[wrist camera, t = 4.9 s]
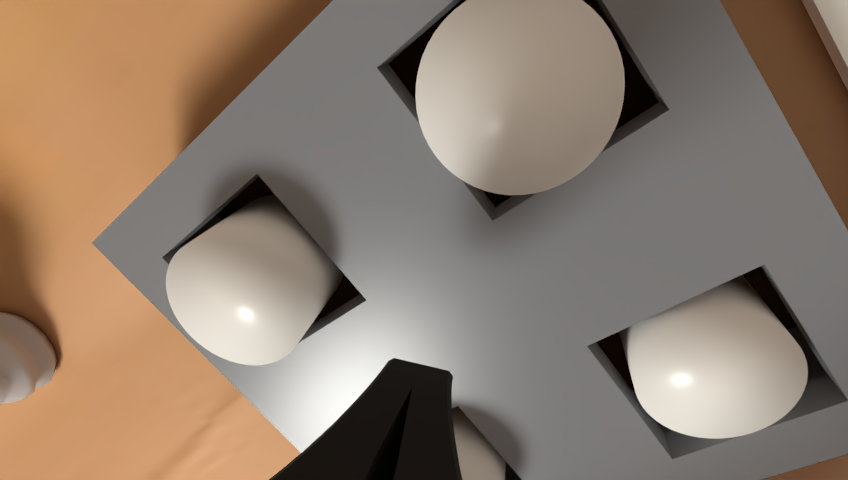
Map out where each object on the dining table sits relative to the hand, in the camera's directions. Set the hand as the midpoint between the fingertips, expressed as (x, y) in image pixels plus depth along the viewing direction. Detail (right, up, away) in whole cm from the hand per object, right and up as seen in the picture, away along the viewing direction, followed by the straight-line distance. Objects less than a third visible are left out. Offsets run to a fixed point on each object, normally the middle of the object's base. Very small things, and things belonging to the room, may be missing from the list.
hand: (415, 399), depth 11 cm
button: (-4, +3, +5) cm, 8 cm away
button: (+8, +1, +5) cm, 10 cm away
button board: (+2, +3, +7) cm, 8 cm away
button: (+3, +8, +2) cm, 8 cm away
